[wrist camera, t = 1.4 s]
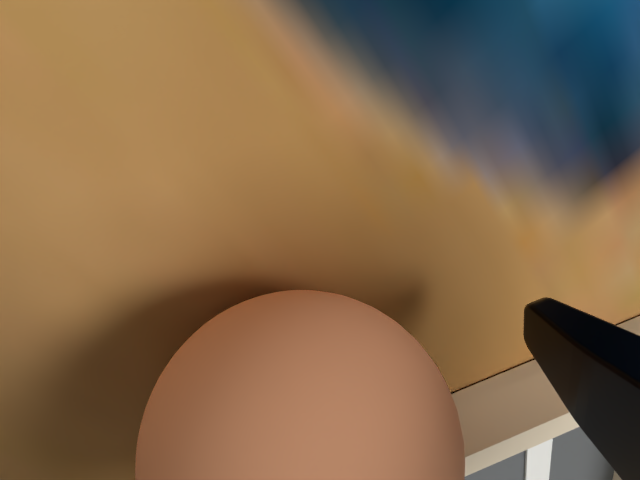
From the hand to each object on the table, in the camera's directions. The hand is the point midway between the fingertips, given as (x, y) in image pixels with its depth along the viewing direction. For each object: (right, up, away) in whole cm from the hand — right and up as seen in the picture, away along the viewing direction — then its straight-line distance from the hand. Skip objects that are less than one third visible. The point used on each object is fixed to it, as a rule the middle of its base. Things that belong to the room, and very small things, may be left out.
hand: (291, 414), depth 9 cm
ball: (-1, +1, +1) cm, 2 cm away
